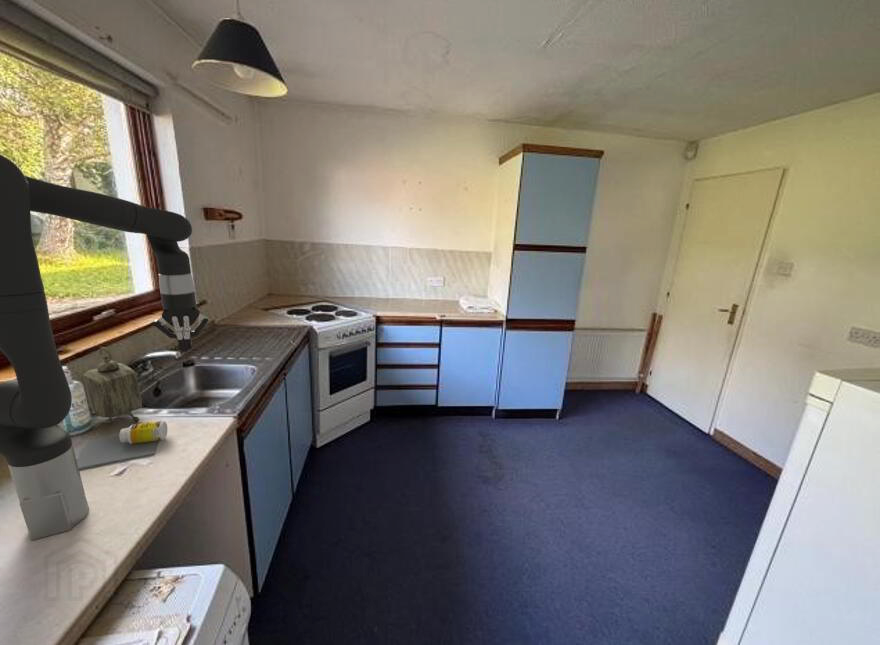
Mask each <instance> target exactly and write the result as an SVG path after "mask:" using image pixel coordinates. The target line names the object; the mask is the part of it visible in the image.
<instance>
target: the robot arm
mask: <svg viewBox="0 0 880 645" xmlns="http://www.w3.org/2000/svg"><path fill="white" fill-rule="evenodd" d="M31 212H37V213H41V214H47V215H52V216H56V217H61V218H64V219H65V218H66V219H70V220H74V221H78V222H82V223H86V224H91V225H94V226H99V227H103V228H108V229H111V230H116V231H121V232H126V233H130V234H131V233H132V234H142V235H146V238H147V240H148V242H149V245H150V247H151V250H152V252H153V254H154V256H155V259H156V266H157V271H158V286H159V291H160V292H159V293H160V299H161V306H162V312H161V316H159V318H157V319H155V320H154V322H152V325H153V326H154V327H155V328H156V329H158V330H159V331H161V332H162V333H163V334H164V335H166V336H167V337H168V338H169V339H175V340H177V342H178V349H179V351H182V352H183V353H188V352H190V350H192V348H193V343H192V338H193V337H197V336H198V335H199V333H200V332H201V331H202V330H203V328H204V327H205V326H206V325H207V323H208V322H209V319H210V318H209V316H205V315H203V314H201V313H200V310H199V309H198V306H197V299H196V286H195V283H194V279H193V275H192V268H191V261H190V256H189V254H188V253H187V251H186V252H185V250H183V249H182V248H180V247H179V244H178V243H179V242H183V241H186V240H188V239H189V238H190V237H191V235H192V233H193V227H192V224H191V223H190V220H189V219H187V218H186V217H185V216H183V215H182V214H180V213H178V212H173V211H170V210H169V211H168V210H164V209H159V208H155V207H149V206H145V205H141V204H138V203H135V202H132V201H130V200H126V199H122V198H120V197H115V196H113V195H108V194H104V193H99V192H95V191H92V190H91V191H89V190H85V189H81V188H75V187H71V186H70V187H69V186H64V185H59V184H56V183H52V182H47V181H43V180H40V179H37V178H34V177H33V178H32V177H29V176H27V175H25V174H24V172H23V171H22V170H21V168H20V167H19V166H18V165H17V164H16V163H14V161H12V160H10V159H9V158H8V157H6V156H4V155H2V154H0V351H1V353H2V354H4V356H5V357H6V358H7V360H8V362H10V365H11V367H12V368H13V371H14V373H15V378H16V379H9V380H5V381H2V382H0V455H1V456H2V457H4V459H5V460H6V464H7V466H8V469H9V470H8V471H9V473H10V477H11V479H12V482H13V486H14V488H15V492H16V495H17V497H18V500H19V506H20V510H21V513H22V516H23V519H24V522H25V524H26V528H27V532H28V535H29V537H30V540H31V541H33V540H34V541H35V540H37V539H41V538H42V539H43V538H44V537H50V536H53V535H57V534H61V533H65V532H69V531H71V530H72V529H73V527H74V526H76V525H77V524H78V523H80V522H81V521H82V520H83V519H84V518H85V517H86V516H87V515H88V514H89V510H90V508H89V504H88V500H87V495H86V493H85V488H84V483H83V480H82V476H81V473H80V470H79V468H78V464H77V457H76V454H75V450H74V445H73V441H72V438H71V435H70V434H69V432H68V431H66V430H65V429H63V428H61V427H58V426H57V425H58V424H60V423H63V421H64V420H65V419H66V418H67V416H68V415H69V413H70V411H71V408H72V393H71V392H72V391H71V387H70V384H69V381H68V379H67V376H66V373H65V371H64V368H63V365H62V362H61V360H60V357H59V356H60V355H59V353H58V350H57V345H56V341H55V337H54V336H55V335H54V334H53V329H52V324H51V320H50V313H49V312H50V311H49V306H48V302H47V301H48V300H47V296H46V290H45V287H44V283H43V279H42V275H41V269H40V266H39V259H38V256H37V251H36V247H35V244H34V239H33V232H32V231H33V230H32V219H31V217H32V216H31ZM197 319H198V325H197V326H196V327H195V328H194V329H193V331H192V326H193V325H194V324H195V322H196V321H197ZM167 323H168V324H169V325H170V326H172V327H173V328H174V330H173V329H172V328H171V327H169V325H167Z"/></svg>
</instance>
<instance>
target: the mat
mask: <svg viewBox="0 0 880 645" xmlns="http://www.w3.org/2000/svg"><path fill="white" fill-rule="evenodd" d="M119 436H120V434H117V435H112V436H111V435H110V436H105V437H100V438H93V439H88V441H87V443H86V445H85V446H84V447H83V449H82V450H81V452H80V454H79V455H78V457H76V460H77V464H78V468H79V471H81V470H85V469H91V468H94V467H101V466H106V465H111V464H115V463H121V462H126V461H131V460H136V459H140V458H146V457H150V456H151V455H152V456H154V455H155V453H156V451H157V449H158V445H159V443H160V440H157V441H151V442H144V443H137V444H130V443H129V442H124V443H122V442H121V441H120V437H119ZM152 456H151V457H152Z"/></svg>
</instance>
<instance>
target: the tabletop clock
mask: <svg viewBox="0 0 880 645" xmlns="http://www.w3.org/2000/svg"><path fill="white" fill-rule="evenodd" d="M103 350H104V351H105V352H106V353H107V354H108V355H104V354H103ZM99 353H100V356H101V358H102V359H103V360H104V361H102V362H100V363H99V364H98V365H97V368H93V369H90V370H87V371H86V372H84V373H83V374H82V375H81V380H82V384H83V388H84V389H85V390H84V393H86V394H85V398H86V397H87V398H86V401H87V404H88V406H89V409H90V410H91V411H93V412H94V413H95V414H96V415H98V416H100V417H101V418H104V419H105V418H107V420H106V423H107V424H110V425H111V424H112V423H113V422H114V418H117V417H119V416H122V415H125V414H126V415H128V416H129V417H131V418H132V422H135V423H137V422H138V421H139V420H140V418H139V416H134V414H133V413H132V412H133V411H136V410H139V409H142V407H143V402H142V395H141V389H140V385H139V381H138V377H137V375H136V372H135V371H134V369H132V368H131V367H129V366H127V365H126V364H123V363H121V362H117V361H115V360H112V359H113V358H112V354H111V352H110V350H109V349H108V348H107V347H105V346H101V347H100V348H99Z"/></svg>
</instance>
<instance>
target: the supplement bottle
mask: <svg viewBox="0 0 880 645" xmlns="http://www.w3.org/2000/svg"><path fill="white" fill-rule="evenodd" d="M119 435H120V436H119V437H120V441H121V442H122V443H124V442H129V443H130V444H137V443H144V442H151V441H157V440H159V441H163V440H165V439H166V437H167V435H168V424H167V422H166V421H165V420H158V421H151V422H142V423H134V424H131V425H130V426H129V427H126V428H125V427H124V428H121V429H120V431H119Z"/></svg>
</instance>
